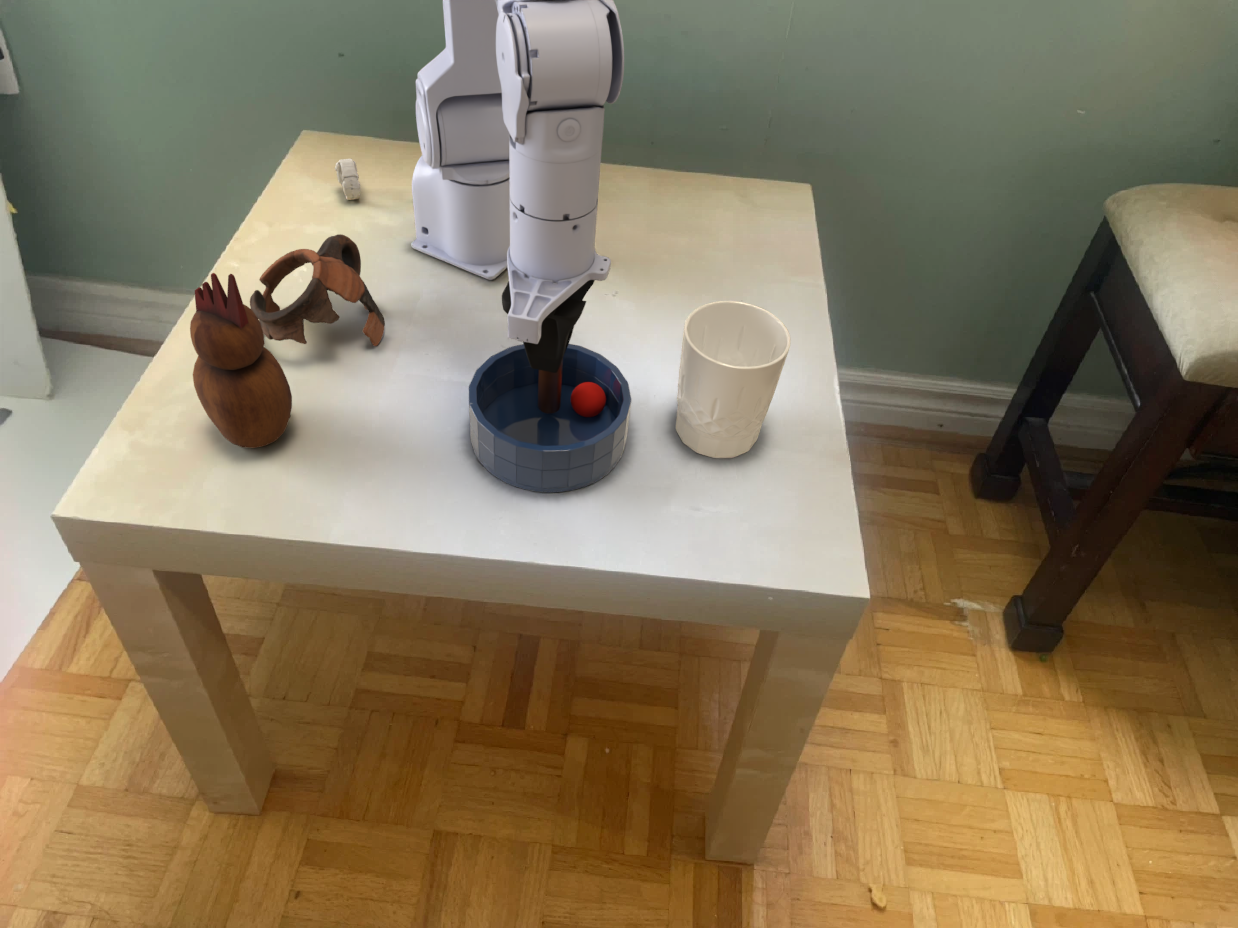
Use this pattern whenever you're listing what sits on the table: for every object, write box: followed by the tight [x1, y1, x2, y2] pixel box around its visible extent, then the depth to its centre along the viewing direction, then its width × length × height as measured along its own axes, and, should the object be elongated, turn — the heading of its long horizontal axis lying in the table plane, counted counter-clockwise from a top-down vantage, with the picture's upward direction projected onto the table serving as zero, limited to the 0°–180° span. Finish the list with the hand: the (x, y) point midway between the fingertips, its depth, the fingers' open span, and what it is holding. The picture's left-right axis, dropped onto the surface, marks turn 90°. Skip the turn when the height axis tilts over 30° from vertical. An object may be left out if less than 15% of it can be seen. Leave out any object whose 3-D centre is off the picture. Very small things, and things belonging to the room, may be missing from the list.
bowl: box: [468, 343, 632, 493], centre depth 71 cm, size 12×12×4 cm
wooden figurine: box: [189, 272, 293, 449], centre depth 65 cm, size 7×6×15 cm
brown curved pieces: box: [249, 233, 386, 347], centre depth 78 cm, size 12×10×8 cm
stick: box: [538, 359, 563, 414], centre depth 69 cm, size 2×2×10 cm
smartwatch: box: [334, 158, 362, 201], centre depth 92 cm, size 4×2×4 cm, turn 20°
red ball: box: [571, 382, 606, 417], centre depth 73 cm, size 3×3×3 cm
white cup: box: [675, 300, 792, 459], centre depth 71 cm, size 8×8×10 cm
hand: (548, 358), depth 69 cm, fingers closed on stick, 2 cm apart
